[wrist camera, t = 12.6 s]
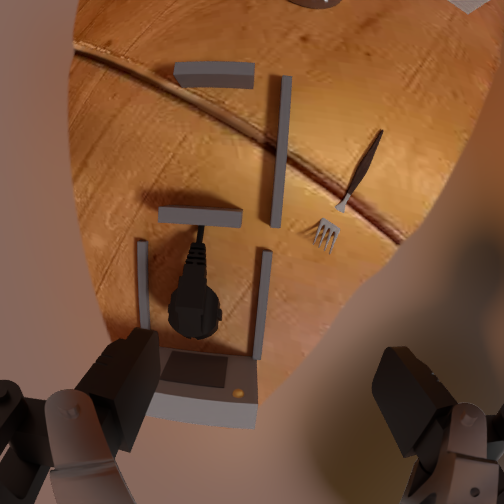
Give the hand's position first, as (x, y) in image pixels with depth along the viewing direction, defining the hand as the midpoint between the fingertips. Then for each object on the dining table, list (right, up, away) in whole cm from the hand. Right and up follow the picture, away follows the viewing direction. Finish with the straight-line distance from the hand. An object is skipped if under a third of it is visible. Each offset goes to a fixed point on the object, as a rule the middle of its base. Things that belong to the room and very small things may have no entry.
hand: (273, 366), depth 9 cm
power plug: (-6, +1, +23) cm, 24 cm away
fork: (+11, +11, +21) cm, 26 cm away
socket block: (-7, -4, +24) cm, 25 cm away
